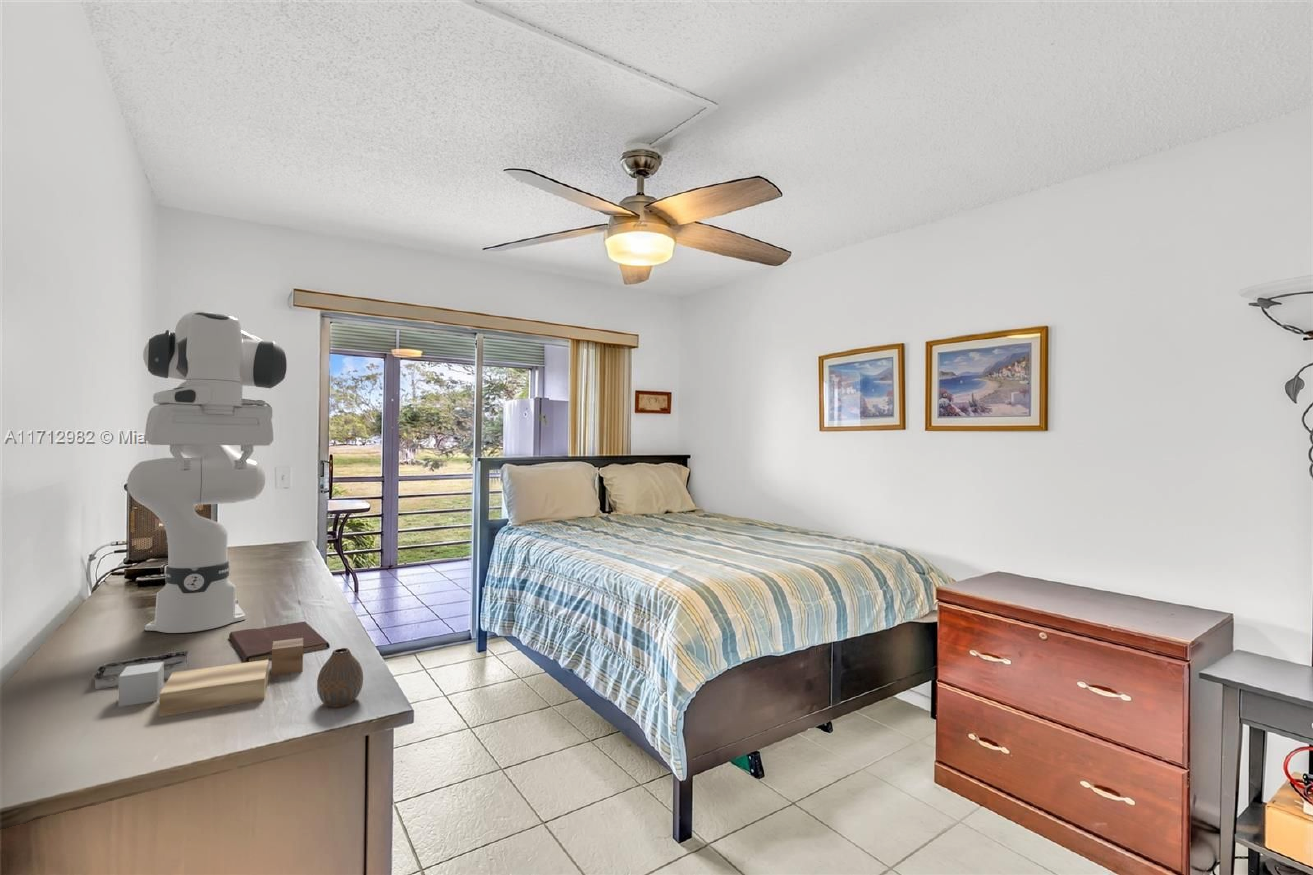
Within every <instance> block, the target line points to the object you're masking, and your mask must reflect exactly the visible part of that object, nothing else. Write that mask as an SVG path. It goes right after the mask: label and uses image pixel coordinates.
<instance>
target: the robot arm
mask: <svg viewBox="0 0 1313 875" xmlns="http://www.w3.org/2000/svg"><path fill="white" fill-rule="evenodd" d="M174 331H175V332H170V329H167V330H165V332H164V333H160V334H159V333H158V334H155V335H154V336H152V337H151V338H149V339H148V341H147V343H146V345H145V346H144V349H143V354H142V356H143V357H142V358H143V361H144V365H145V366H146V368H147V371H148V372H149V373H150V374H151V375H152V376H155V377H159V378H162V379H168V378H170V379H176V380H183V382H181V383H180V384H179V385H178V386H177V387H174V388H172V389H166V390H162V391H157V392H155V393H154V394H153V395H152V399H153V403H154V404H155V405H154V406H153V407H151V408H150V409H149V411H148V414H147V417H146V424H145V433H144V436H145V441H146V442H147V443H148V444H149V445H152V446H153V445H154V446H169V453H170V454H171V455H172V457H162V458H155V459H149V460H142V461H139V462H138V463H137V464H135V466H133V468H132V469H131V470H130V471H129V474H128V477H127V480H126V487H127V490H128V493H129V495H130V496H131V497H132V499H133V500H134V501H136V502H137V503H138V504H140V505H142V506H144V507H146V508H147V510H149V511H151V512H152V513H153V514H154V515H155V516H156V517H157V518H158V519H159V521H160V522H161V523H162V526H163V528H164V530H165V533H166V538H167V551H168V552H167V556H168V557H167V558H168V560H167V563H168V564H167V566H166V567H165V571H164V576H165V578H164V581H165V582H164V583H165V585H164V586H163V587H162V588H161V589H160V590H158V592H157V593H156V598H155V610H154V612H155V613H154V620H152V621H150V622H149V623H147V624H145V626H144V630H145V631H152V632H153V631H154V632H161V633H167V634H180V633H181V634H182V633H183V634H184V633H194V632H201V631H207V630H213V629H215V628H216V629H217V628H221V627H223V626H226V625H229V624H232V623H236V622H240V621H243V620H246V614H245V612H244V611H243V609H242V608H241V607H240V605H239V604H238V599H237V598H236V585H234V583H232V582H231V581H230V579H229V576H230V562H229V561H228V531H227V528H226V527H225V525H223V524H221V522H218V521H216V520H213V519H210V518H207V517H204V516H202V515H199V514H198V513H197V512H196V510H195V508H196V507H197V506H200V505H221V504H224V505H226V504H235V503H242V502H245V501H250V500H254V499H255V500H256V498H257V497H258V496H259V495H260V494H261V493H262V491H263V490H264V488H265V484H266V474H265V470H264V469H263V468H262V466H261V465H260V463H258V462H257V461H256V460H254V459H252V458H250V457H251V456H252V454H253V452H254V446H255V447H256V446H257V447H258V446H259V447H261V446H262V447H263V446H265V447H266V446H270V445H271V444H272V443H273V441H274V429H273V421H272V418H273V407H272V406H271V404H270V403H268V402H266V401H265V400H262V399H255V400H254V399H251V398H250V399H247V398H243V386H245V387H246V386H247V387H256V388H264V389H273V388H274V387H276V386H277V385H279V384H280V383H281V382H283V381H284V380H285V377H286V374H287V368H288V360H287V356H286V352H285V350H284V349H283V348H282V347H281V346H280V344H278V343H276V342H275V341H274V340H265V339H261V338H260V337H258V336H256V335H253V334H252V333H249V332H246V331H245V330H242V328H241V322H240V320H239V318H236V317H235V316H233V315H229V314H220V313H214V312H213V311H208V310H194V311H190V312H188V313H186V314H184V315H183V316H181V318H180V319H179V320H178V322H177V324H176V326H175V330H174ZM235 446H240V451H238V449H236V447H235ZM184 456H187V457H184Z"/></svg>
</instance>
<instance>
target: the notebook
mask: <svg viewBox="0 0 1313 875" xmlns="http://www.w3.org/2000/svg"><path fill="white" fill-rule="evenodd" d="M297 638H303V654H304V653H309V652H313V651H314V652H315V651H318V650H323V649H327V648H328V649H329V648H330V647H331V646H330V643H329V642H328V641H327V640H326V639H325V638H324V637H322V636H321V635H320V633H318V632H317V631H316V630H315V629H314V628H312V626H310V624H308V623H307V622H306V621H298V622H291V623H285V624H279V625H273V626H272V625H271V626H267V627H261V628H251V629H250V628H247V629H241V630H235V631H231V632H230V633H229V635H228V639H229V640H230V642H231V643H232V645H233V647H234V649H236V651H237V653H238V654H239V656H240V657H241V659H242V661H243V663H246V662H254V661H261V660H272V647H273V641H281V640H289V639H297Z"/></svg>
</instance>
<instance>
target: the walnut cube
mask: <svg viewBox="0 0 1313 875" xmlns="http://www.w3.org/2000/svg"><path fill="white" fill-rule="evenodd" d="M303 662H304V653H303V638H297V639H289V640H281V641H273V647H272V659H271V676H272V677H273V676H280V675H281V676H282V675H287V674H293V673H300V672H303V671H304V670H303V668H304V667H303V666H304V663H303Z"/></svg>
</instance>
